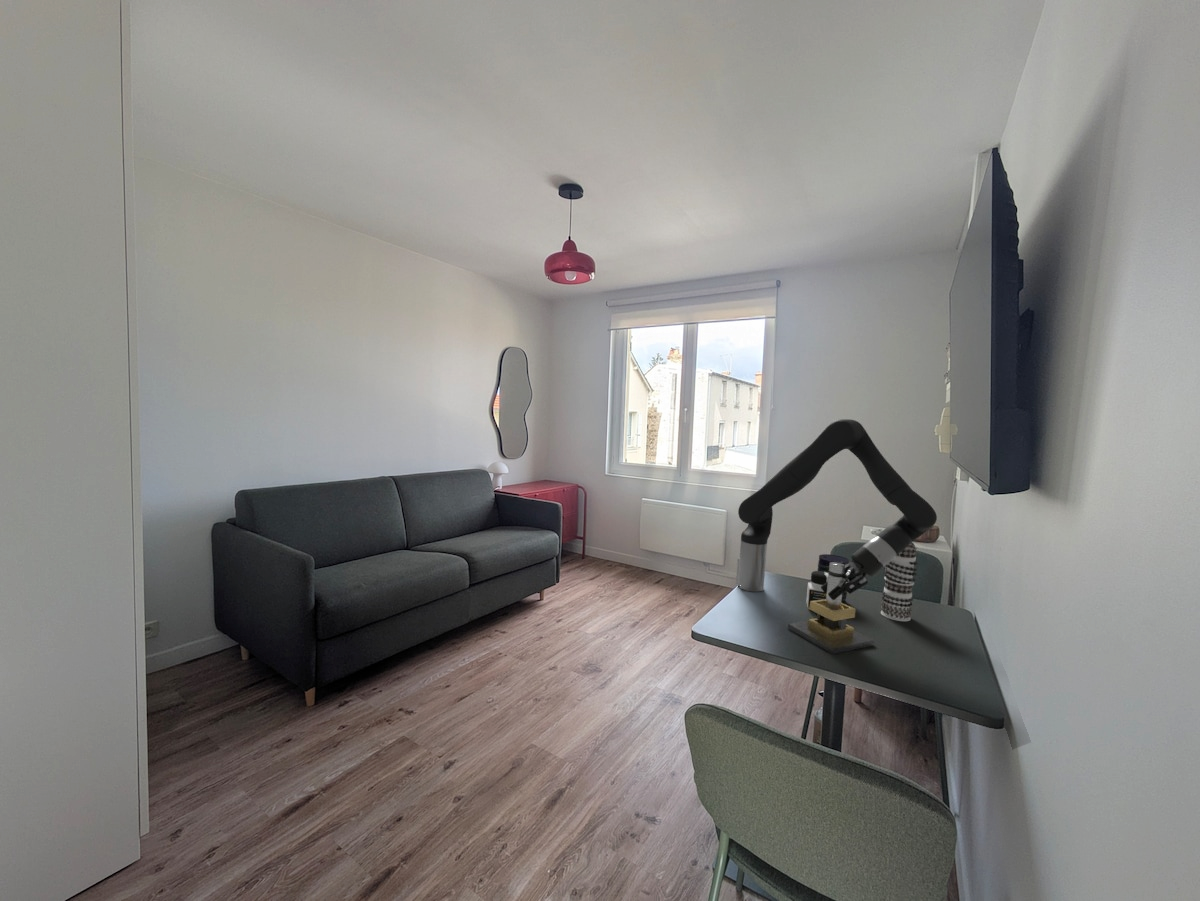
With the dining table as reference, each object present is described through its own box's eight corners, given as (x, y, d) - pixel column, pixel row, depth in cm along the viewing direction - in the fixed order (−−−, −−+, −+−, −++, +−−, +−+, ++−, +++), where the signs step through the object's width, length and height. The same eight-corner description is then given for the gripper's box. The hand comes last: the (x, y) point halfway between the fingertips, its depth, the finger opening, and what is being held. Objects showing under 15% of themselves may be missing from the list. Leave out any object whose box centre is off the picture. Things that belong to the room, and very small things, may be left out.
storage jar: (847, 599, 174) (851, 558, 173) (844, 607, 166) (848, 564, 165) (817, 592, 180) (820, 552, 179) (812, 600, 171) (816, 558, 170)
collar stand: (788, 628, 147) (790, 597, 146) (827, 622, 153) (830, 592, 153) (832, 653, 132) (835, 619, 132) (873, 645, 139) (877, 612, 138)
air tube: (819, 629, 144) (825, 562, 142) (829, 627, 145) (836, 561, 144) (831, 635, 140) (838, 567, 138) (841, 633, 142) (848, 566, 140)
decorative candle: (902, 611, 165) (910, 538, 164) (917, 623, 156) (925, 545, 154) (874, 609, 166) (881, 536, 164) (887, 620, 157) (895, 543, 155)
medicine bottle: (807, 609, 163) (810, 574, 162) (806, 602, 170) (809, 567, 169) (831, 613, 161) (834, 577, 160) (828, 605, 167) (831, 571, 167)
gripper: (853, 539, 147) (809, 576, 149) (877, 553, 133) (827, 593, 135) (870, 558, 147) (825, 594, 149) (895, 573, 133) (845, 613, 135)
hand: (826, 593), depth 142 cm, fingers open, 4 cm apart
